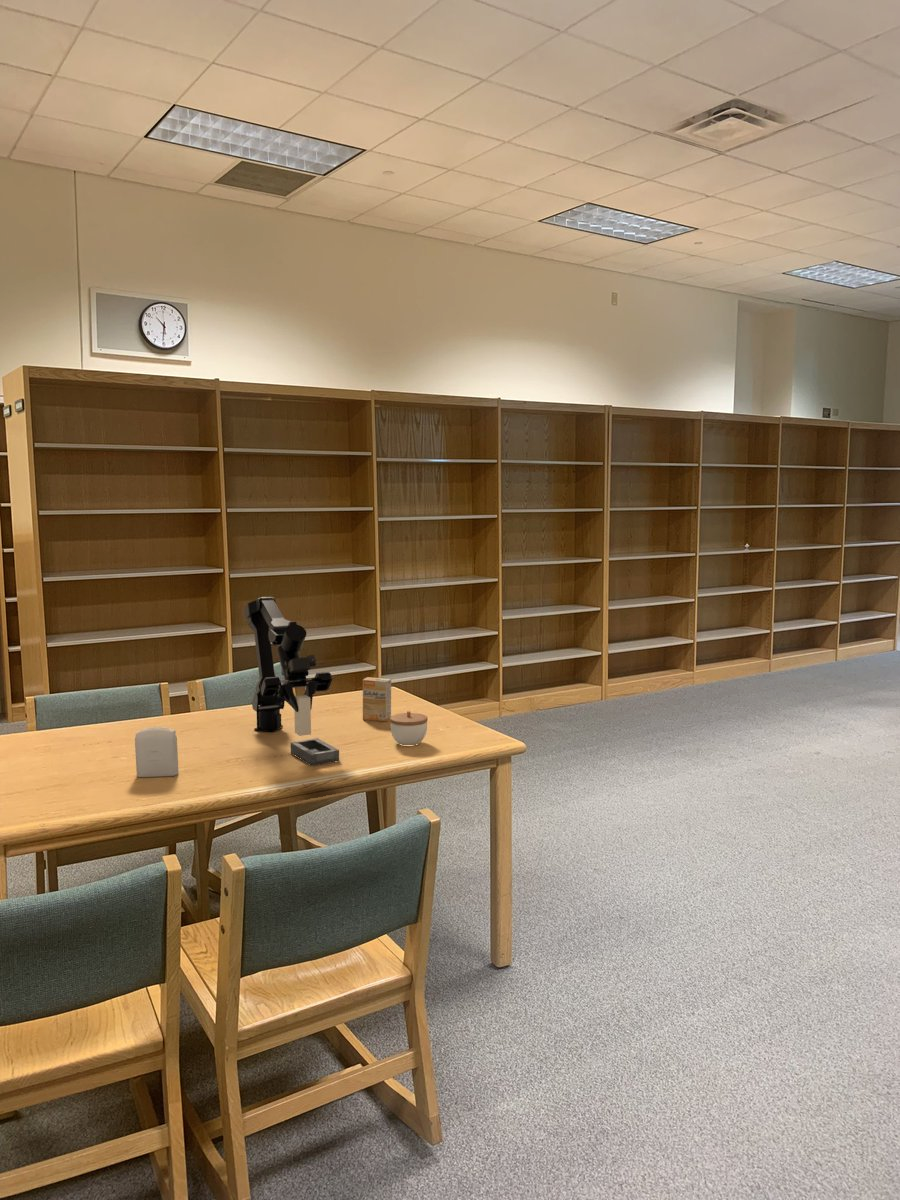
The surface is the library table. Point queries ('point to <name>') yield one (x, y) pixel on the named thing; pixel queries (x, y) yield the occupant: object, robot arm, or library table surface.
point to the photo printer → (156, 752)
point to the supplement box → (376, 699)
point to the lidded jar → (408, 727)
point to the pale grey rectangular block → (303, 715)
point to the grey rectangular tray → (314, 751)
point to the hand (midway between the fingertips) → (304, 710)
